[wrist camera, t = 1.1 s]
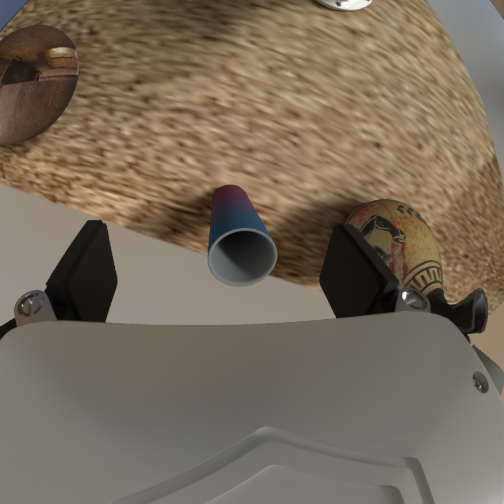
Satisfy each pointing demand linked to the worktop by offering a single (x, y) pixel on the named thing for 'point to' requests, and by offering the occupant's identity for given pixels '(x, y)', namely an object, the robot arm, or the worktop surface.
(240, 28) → the worktop surface
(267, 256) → the cup
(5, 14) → the blue square tile
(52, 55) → the wooden sphere
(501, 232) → the worktop surface
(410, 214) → the ceramic jug
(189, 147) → the worktop surface
